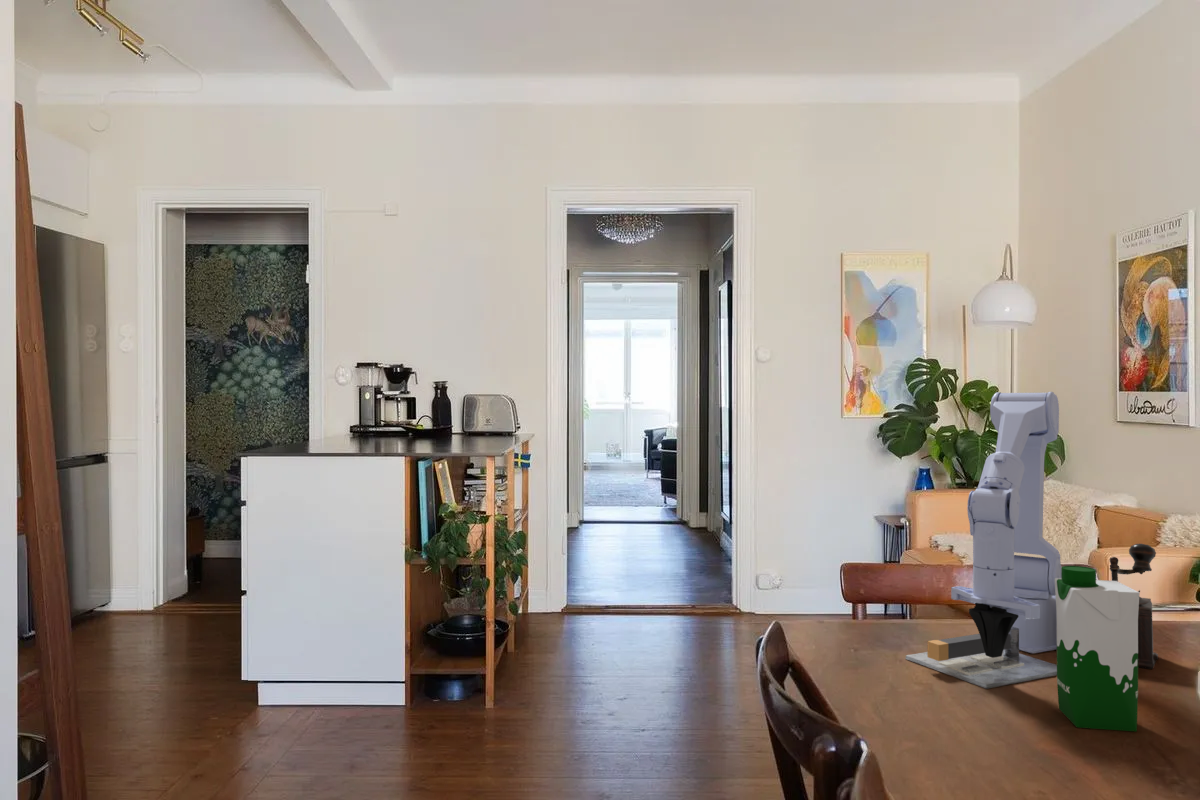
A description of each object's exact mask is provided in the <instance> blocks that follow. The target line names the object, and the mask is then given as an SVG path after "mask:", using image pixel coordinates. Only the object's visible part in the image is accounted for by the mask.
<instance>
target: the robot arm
mask: <svg viewBox="0 0 1200 800" xmlns="http://www.w3.org/2000/svg"><path fill="white" fill-rule="evenodd" d="M1059 403H1060V402H1059V397H1058V396H1057V394H1056V393H1055V392H1053V391H1048V392H1000V391H999V392H998V391H997V392H995V393H994V394H993V395H992V397H991V401H990V408H989V410H990V418H991V423H992V425H993V426H994V429H995V431H996V433H997V439H996V440H997V441H996V446H995V447H996V448H995V452H993V453H991V454H989V455H988V456H987V457H986V459H985V462H984V464H983V468H982V472H981V475H980V479H979V483H978V485H977V487H976V489H975V490H971V491H970V492H969V494H968V497H967V508H966V510H967V518H968V522H969V532H970V533H969V534H970V536H972V587H967V586H961V585H958V586H951V587H950V588H951V590H950V591H951V592H950V594H951V595H950V596H951V600H954V601H961V602H962V601H963V602H967V603H970V604H974V605H975V606H974V607H972V608H969V609H968V614H969V616H970V617H971V619H972V620H973V622H974V624H975V626H976V628H977V631H978V634H980V637H981V640H982V643H983V647H984V651H985V655H986V656H989V657H992V658H995V657H1001V656H1002V653H1003V649H1004V645H1005V642H1006V639H1007V636H1008V634H1009V632H1010V630H1011V628H1012V627H1016V628H1019V651H1023V652H1026V653H1030V654H1038V653H1043V652H1049V651H1050V652H1051V651H1054V650H1056V651H1057V611H1056V593H1055V578H1061V568H1062V562H1061V554H1060V552H1059V550H1058V549H1057V548H1056V546H1054V545H1053V544H1052V543H1050V542H1048V541H1047V540H1046V539H1045V538H1044V537H1043V535H1044V534H1043V532H1044V531H1043V529H1044V492H1045V491H1044V490H1045V487H1044V485H1045V484H1044V483H1045V455H1046V450H1047V445H1048V444H1049V443H1052V442H1054V441H1056V440H1057V439H1058V434H1059V431H1060V428H1059V427H1060V424H1059V423H1060V406H1059V405H1060V404H1059ZM1015 553H1016V554H1015ZM1017 554H1028V555H1037V557H1035V556H1028V555H1027V556H1026V555H1017ZM1038 556H1042V557H1038Z"/></svg>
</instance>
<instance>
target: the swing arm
mask: <svg viewBox="0 0 1200 800" xmlns="http://www.w3.org/2000/svg"><path fill="white" fill-rule="evenodd" d="M1005 649H1010V634H1008V636H1007V639H1006V642H1005V645H1004V649H1003V650H1005ZM927 652H928V657H929V658H931V659H934V660H937V661H943V660H948V659H952V658H958V657H964V656H970V655H976V654H982V653H985V651H984V647H983V643H982V640H981V637H980V634H979V633H975V634H966V635H962V636H955V637H950V638H942V639H933V640H932V639H931V640H927Z"/></svg>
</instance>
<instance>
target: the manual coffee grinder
mask: <svg viewBox="0 0 1200 800" xmlns="http://www.w3.org/2000/svg"><path fill="white" fill-rule="evenodd" d="M1128 554H1129V556H1130V557H1131V558H1132V559H1133V561H1134V563H1133V566H1132V567H1131V569H1130V568H1129V569H1123V568H1120V566H1119V559H1118V557H1116V556H1112V557H1110V558H1109V563H1110V564H1109V571H1110V572H1111V581H1118V582H1119V575H1132V574H1140V575H1143V573H1146V572H1152V568H1151V562H1152V560H1153V559H1155V557H1156V554H1157V551H1156V550H1155V548H1154V547H1152V546H1151V545H1149V544H1145V543H1135V544H1133V545H1131V546H1130V548H1129V549H1128ZM1137 592H1139V593H1141V590H1140V589H1139V590H1138V591H1137ZM1151 599H1152V598H1150V597H1149V598H1148V597H1141V596H1140V595H1139V610H1138V669H1148V670H1153V669H1154V668H1155V664H1156V662H1157V661H1158V660H1159V654H1158V653H1157V652H1154V630H1153V629H1154V627H1153V602H1152V600H1151Z"/></svg>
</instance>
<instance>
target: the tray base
mask: <svg viewBox="0 0 1200 800" xmlns="http://www.w3.org/2000/svg"><path fill="white" fill-rule="evenodd" d="M1009 634H1010V649H1005V650H1003V653H1002V656H1001V657H995V658H992V657H989V656H986V655H985V653H982V654H976V655H970V656H964V657H958V658H952V659H948V660H943V661H937V660H934V659H931V658H929V657H928V651H924V652H918V653H912V654H907V655H905V660H907V661H910V662H913V663H915V664H918V665H921V666H924V667H925V668H926V667H927V668H929V669H931V670H934V671H936V672H939V673H943V674H945V675H948V676H951V677H954V678H956V679H959V680H962V681H965V682H966V683H970V684H972V685H975V686H978V687H980V688H984V689H991V688H992V689H993V688H997V687H1003V686H1007V685H1012V684H1017V683H1023V682H1029V681H1032V680H1039V679H1045V678H1050V677H1055V676H1057V664H1055V663H1051V662H1049V661H1046V660H1042V659H1038V658H1035V657H1033V656H1029V655H1025V654H1022V653H1020V650H1019V628H1016V627H1012V628H1011V630H1010V632H1009Z"/></svg>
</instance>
